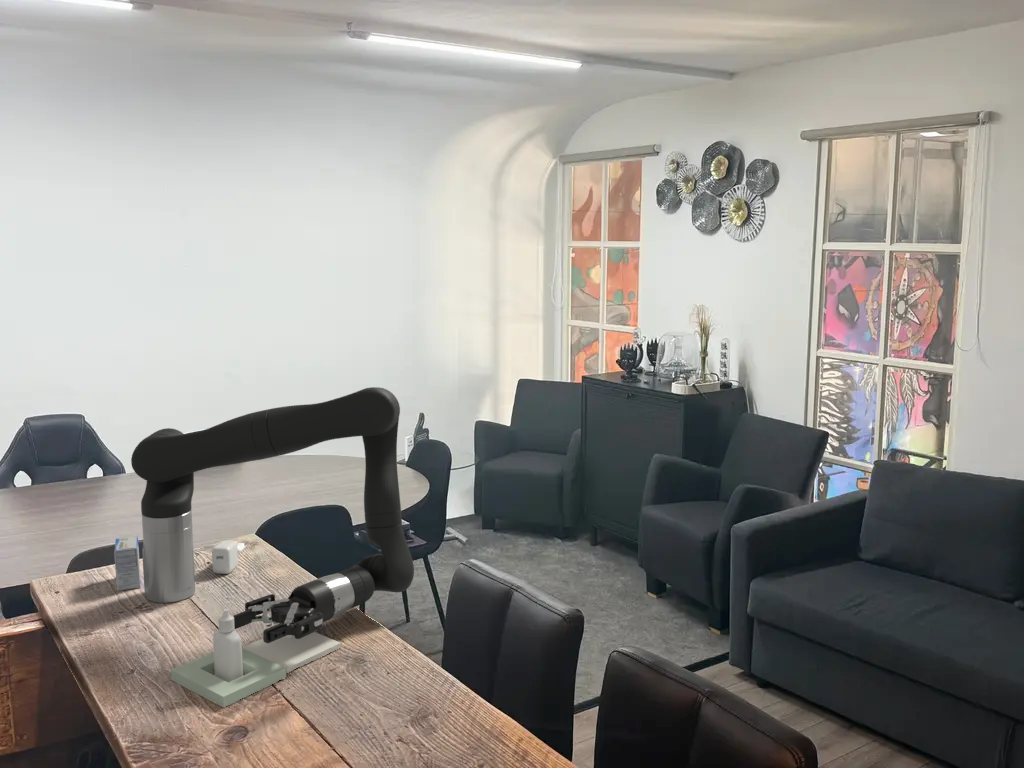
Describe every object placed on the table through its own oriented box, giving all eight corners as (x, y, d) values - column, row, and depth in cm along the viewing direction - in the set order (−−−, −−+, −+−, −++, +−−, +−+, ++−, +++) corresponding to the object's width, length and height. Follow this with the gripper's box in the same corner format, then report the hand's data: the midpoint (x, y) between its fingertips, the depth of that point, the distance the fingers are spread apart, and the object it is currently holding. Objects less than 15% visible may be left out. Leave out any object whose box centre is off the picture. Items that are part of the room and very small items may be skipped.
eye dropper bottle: (242, 669, 154) (239, 601, 152) (243, 685, 149) (240, 615, 147) (214, 673, 153) (211, 604, 151) (215, 689, 147) (211, 618, 145)
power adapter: (229, 555, 206) (228, 530, 205) (250, 556, 205) (249, 531, 204) (209, 574, 195) (208, 548, 194) (231, 575, 194) (230, 549, 193)
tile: (241, 652, 160) (241, 647, 160) (296, 629, 169) (296, 624, 169) (286, 673, 153) (286, 668, 153) (341, 648, 162) (341, 642, 162)
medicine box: (140, 588, 187) (138, 547, 186) (116, 591, 185) (114, 550, 184) (140, 574, 194) (138, 535, 193) (117, 577, 193) (115, 537, 191)
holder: (171, 679, 150) (170, 669, 150) (233, 653, 160) (232, 643, 159) (223, 707, 142) (223, 696, 142) (286, 678, 151) (285, 667, 151)
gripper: (295, 570, 169) (220, 598, 156) (350, 589, 161) (275, 620, 148) (297, 608, 170) (222, 639, 158) (350, 629, 162) (276, 664, 149)
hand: (248, 630), depth 153 cm, fingers open, 8 cm apart
